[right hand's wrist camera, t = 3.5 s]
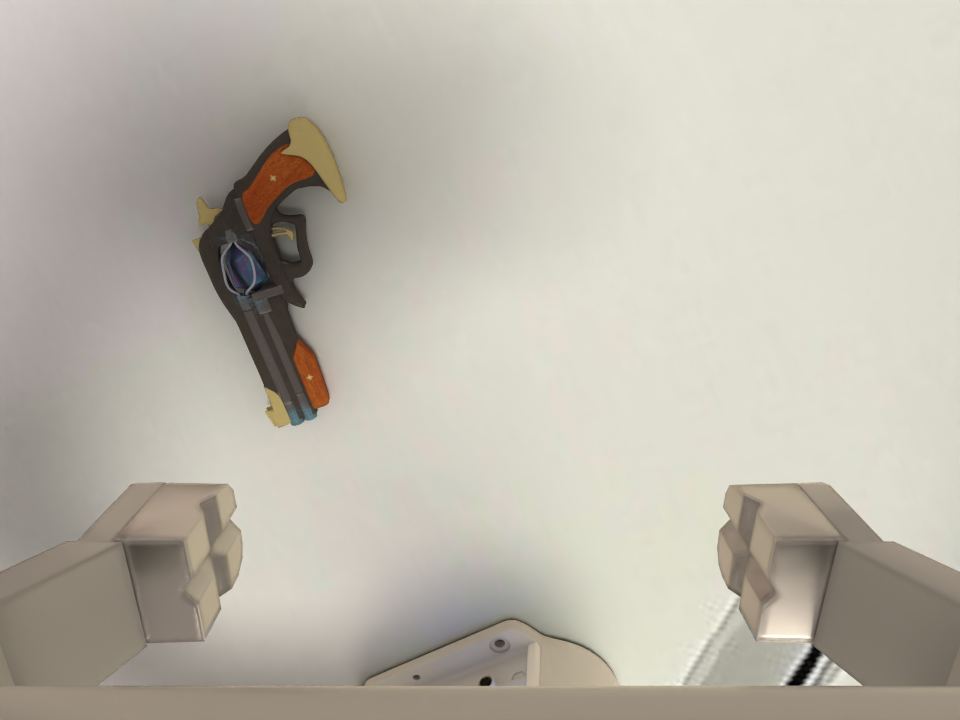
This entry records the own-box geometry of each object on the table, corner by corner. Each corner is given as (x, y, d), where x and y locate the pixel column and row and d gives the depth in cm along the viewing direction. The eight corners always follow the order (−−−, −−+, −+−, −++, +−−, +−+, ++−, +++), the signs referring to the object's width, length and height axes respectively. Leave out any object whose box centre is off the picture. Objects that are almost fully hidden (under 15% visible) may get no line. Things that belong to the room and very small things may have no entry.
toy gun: (316, 112, 36) (144, 159, 36) (411, 398, 44) (271, 438, 44) (320, 111, 38) (160, 155, 38) (410, 381, 46) (277, 419, 46)
